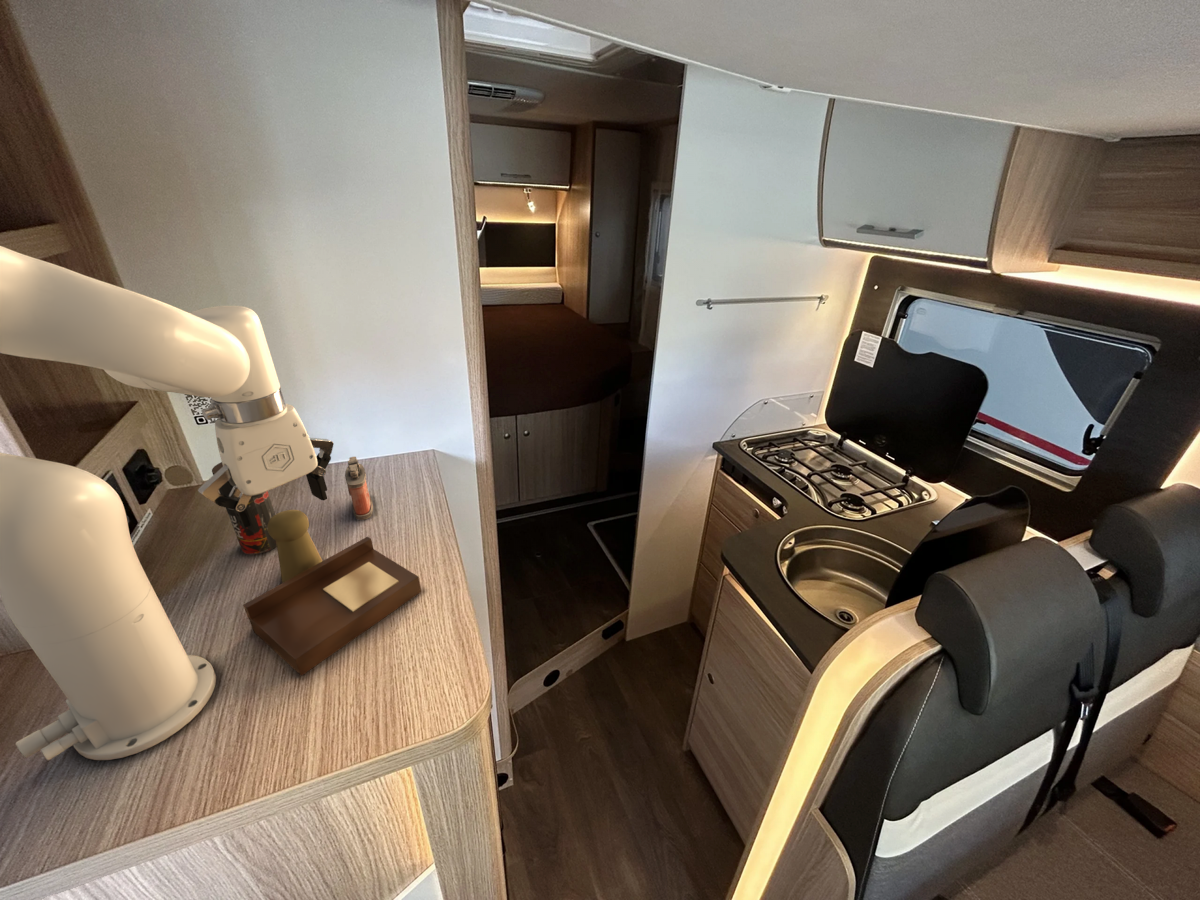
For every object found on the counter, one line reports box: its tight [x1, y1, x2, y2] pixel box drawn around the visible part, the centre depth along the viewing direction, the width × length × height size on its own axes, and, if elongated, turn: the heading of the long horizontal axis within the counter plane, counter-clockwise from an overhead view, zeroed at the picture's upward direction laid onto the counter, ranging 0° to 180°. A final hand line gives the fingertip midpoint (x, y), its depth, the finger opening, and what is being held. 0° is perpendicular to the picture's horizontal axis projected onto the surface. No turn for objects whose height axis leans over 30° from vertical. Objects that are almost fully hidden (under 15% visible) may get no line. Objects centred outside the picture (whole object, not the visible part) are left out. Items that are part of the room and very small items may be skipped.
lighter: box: [344, 456, 374, 521], centre depth 91 cm, size 8×3×10 cm, turn 25°
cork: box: [268, 509, 323, 584], centre depth 75 cm, size 6×6×11 cm
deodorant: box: [211, 461, 277, 555], centre depth 80 cm, size 6×6×15 cm
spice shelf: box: [242, 536, 422, 677], centre depth 70 cm, size 18×12×5 cm, turn 146°
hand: (287, 512), depth 73 cm, fingers open, 9 cm apart
